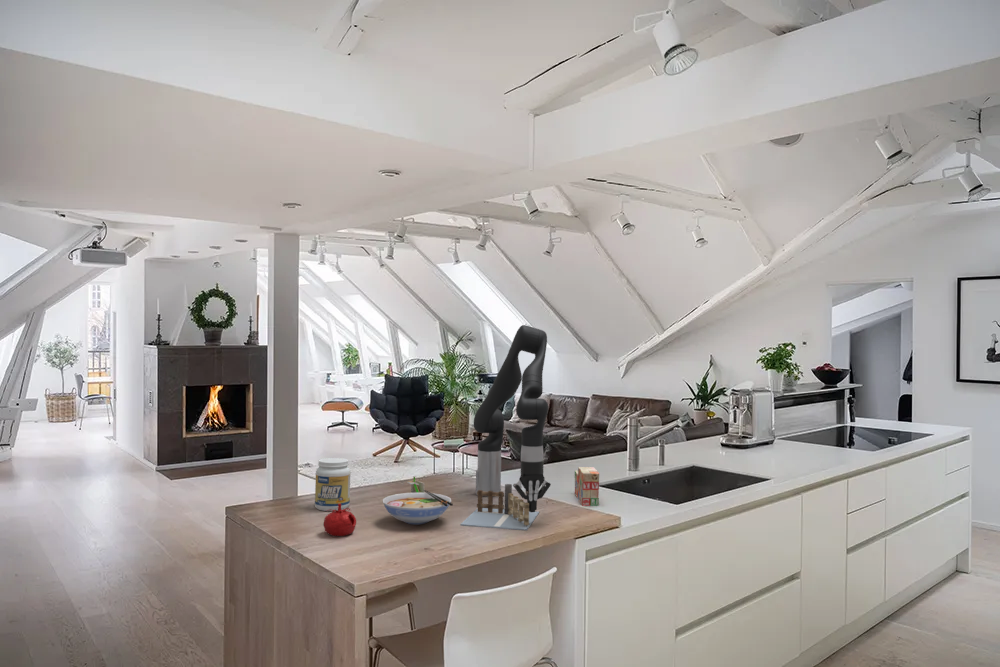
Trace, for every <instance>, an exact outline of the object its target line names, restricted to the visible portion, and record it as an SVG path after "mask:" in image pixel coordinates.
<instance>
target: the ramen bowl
mask: <svg viewBox="0 0 1000 667" xmlns="http://www.w3.org/2000/svg"><path fill="white" fill-rule="evenodd" d="M423 491H424V493H421V492H420V493H411V492H404V493H396V494H392V495H388V496H386V497H384V498H382V502H383V505H384V507H385V509H386V511H387V512H388V513H389V515H390V516H392V517H393V518H395V519H396V520H399V521H400V522H404V523H406V524H409V525H412V526H413V525H415V526H416V525H424V524H427V523H428V522H430V521H434V520H436V519H439V517H441V516H442V515H443V514H444V513H445V512H446V511H447V510H448V508H449V506H451V507H452V506H453V504H454V503H452V498H451V497H449V496H447V495H445V494H440V493H434V492H431V491H428V490H426V489H424V490H423Z"/></svg>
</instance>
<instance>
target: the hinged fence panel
mask: <svg viewBox="0 0 1000 667" xmlns="http://www.w3.org/2000/svg"><path fill="white" fill-rule="evenodd" d="M524 500H525V499H523V498H522V499H520V498H519V497H518V496H517V495H514V494H513V492H512V493H508V514H509V515H513V517H514V518H518V521H520V522H522V521H524V525H529V503H527V502H525V501H524ZM523 511H524V515H523Z"/></svg>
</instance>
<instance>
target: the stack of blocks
mask: <svg viewBox="0 0 1000 667" xmlns="http://www.w3.org/2000/svg"><path fill="white" fill-rule="evenodd" d="M599 490H600V472H599V471H598V470H597V469H596V468H595V467H594V466H588V467H585V466H578V467H577V470H574V494H575V496H576V497H577V499H578V501H579V503H580V505H581V506H585V507H588V506H589V507H599V505H600V504H599V499H600V498H599V496H600V494H599Z"/></svg>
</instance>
